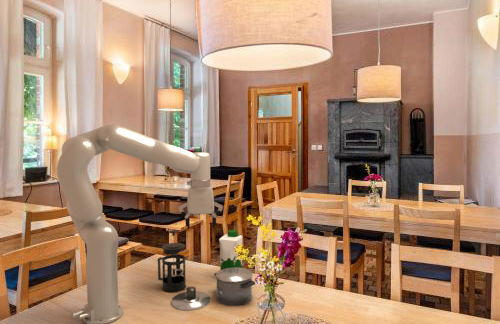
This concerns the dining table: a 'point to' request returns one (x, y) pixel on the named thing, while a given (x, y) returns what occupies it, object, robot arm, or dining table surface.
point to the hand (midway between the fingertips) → (201, 227)
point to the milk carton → (229, 250)
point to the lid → (190, 300)
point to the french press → (173, 273)
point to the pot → (234, 286)
